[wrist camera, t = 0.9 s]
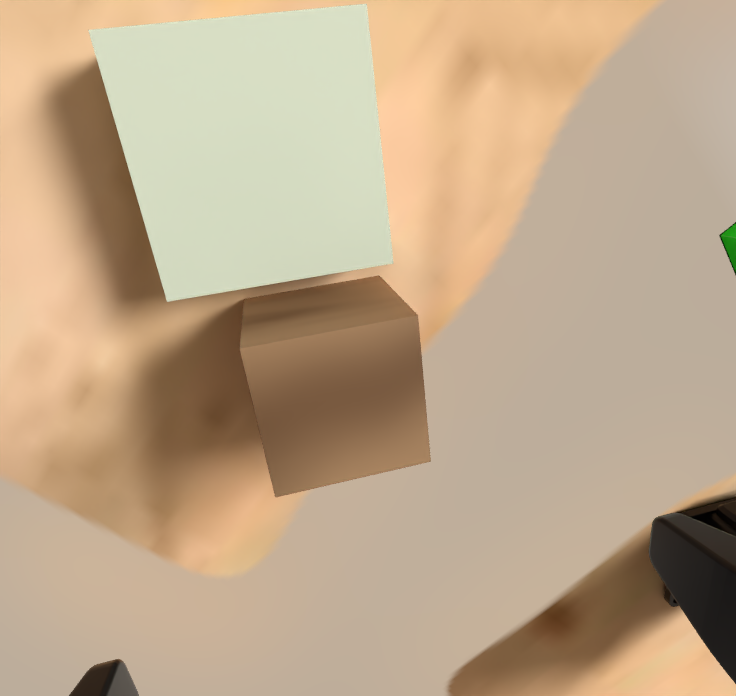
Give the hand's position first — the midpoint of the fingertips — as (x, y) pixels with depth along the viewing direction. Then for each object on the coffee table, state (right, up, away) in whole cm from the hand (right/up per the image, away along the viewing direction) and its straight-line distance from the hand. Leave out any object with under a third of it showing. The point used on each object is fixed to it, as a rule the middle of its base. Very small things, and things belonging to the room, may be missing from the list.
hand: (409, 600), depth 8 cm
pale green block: (-4, +10, +8) cm, 14 cm away
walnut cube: (-2, +4, +11) cm, 12 cm away
